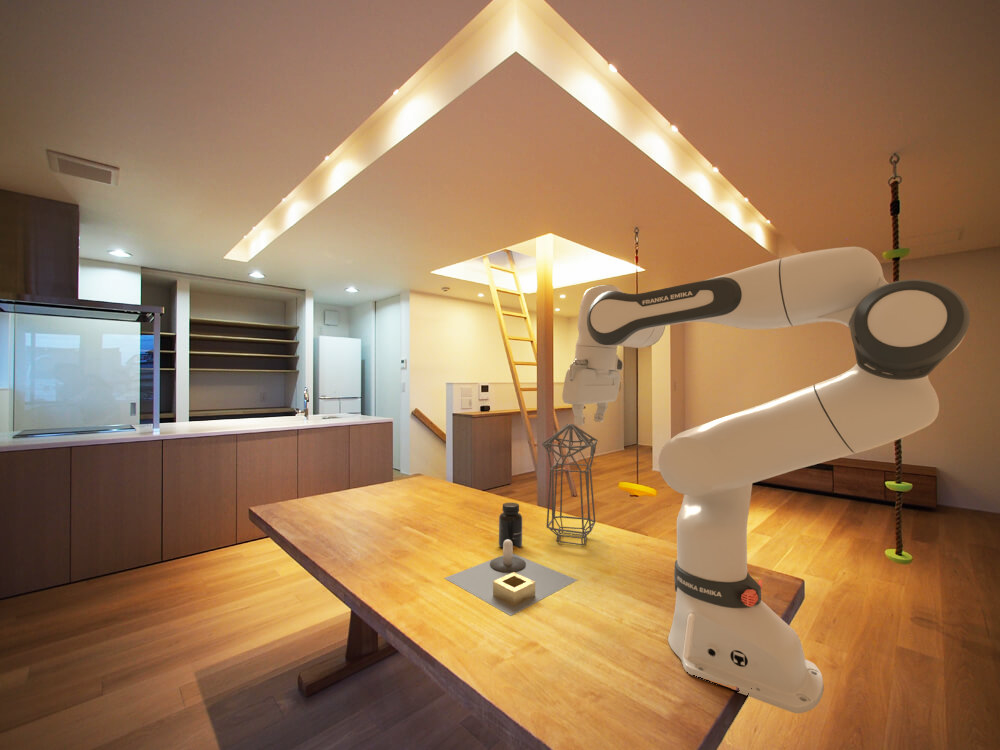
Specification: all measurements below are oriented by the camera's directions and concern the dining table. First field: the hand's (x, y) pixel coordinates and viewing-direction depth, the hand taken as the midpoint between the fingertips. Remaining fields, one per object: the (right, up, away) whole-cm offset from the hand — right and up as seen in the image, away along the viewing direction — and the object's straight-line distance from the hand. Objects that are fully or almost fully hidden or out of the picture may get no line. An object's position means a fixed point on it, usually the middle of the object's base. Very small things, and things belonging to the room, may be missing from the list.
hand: (589, 423), depth 91 cm
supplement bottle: (-17, -39, +29) cm, 51 cm away
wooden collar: (-17, -37, -3) cm, 40 cm away
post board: (-17, -38, +5) cm, 42 cm away
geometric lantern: (+2, -40, +34) cm, 52 cm away
